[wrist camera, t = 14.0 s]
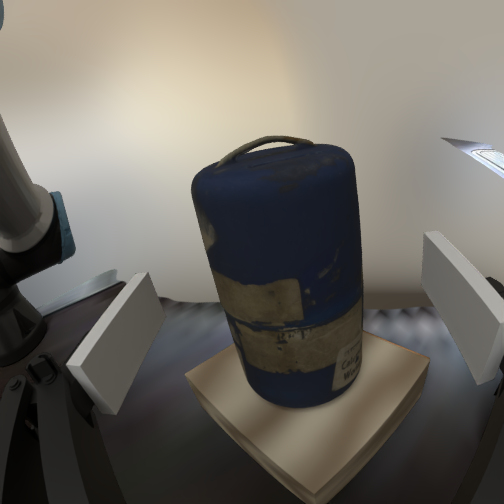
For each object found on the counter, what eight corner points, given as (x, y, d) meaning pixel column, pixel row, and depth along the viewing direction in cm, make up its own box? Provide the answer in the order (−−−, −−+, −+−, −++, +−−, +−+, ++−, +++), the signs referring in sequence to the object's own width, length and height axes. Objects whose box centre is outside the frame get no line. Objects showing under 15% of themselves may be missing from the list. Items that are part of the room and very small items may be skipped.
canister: (246, 344, 28) (193, 148, 21) (345, 323, 28) (322, 122, 20) (250, 427, 20) (160, 168, 12) (378, 399, 19) (378, 127, 12)
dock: (201, 406, 28) (184, 374, 26) (302, 334, 35) (297, 300, 33) (317, 511, 16) (314, 494, 14) (422, 393, 23) (431, 357, 21)
